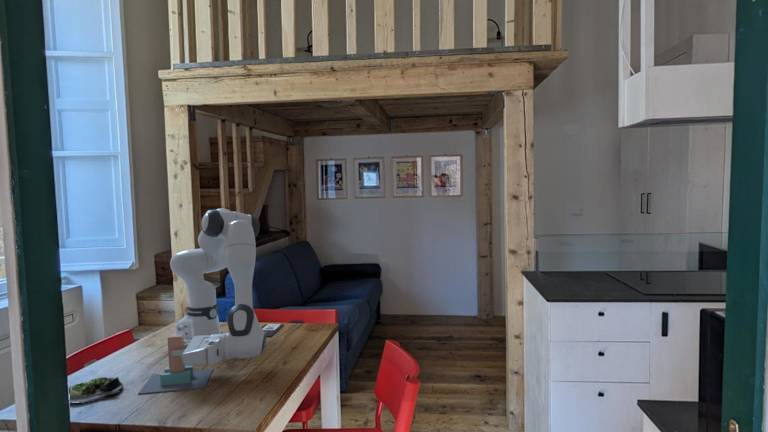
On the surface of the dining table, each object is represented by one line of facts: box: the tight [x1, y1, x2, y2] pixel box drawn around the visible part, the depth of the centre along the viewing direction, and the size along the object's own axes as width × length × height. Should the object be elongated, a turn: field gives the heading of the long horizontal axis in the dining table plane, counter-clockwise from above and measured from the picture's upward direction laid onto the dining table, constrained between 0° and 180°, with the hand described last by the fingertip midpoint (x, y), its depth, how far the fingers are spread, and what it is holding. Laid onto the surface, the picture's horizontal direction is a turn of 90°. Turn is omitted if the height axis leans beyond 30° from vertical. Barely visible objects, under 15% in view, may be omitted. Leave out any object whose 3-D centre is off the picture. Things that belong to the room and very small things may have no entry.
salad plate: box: [68, 376, 124, 405], centre depth 153 cm, size 19×18×5 cm
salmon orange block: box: [167, 334, 186, 373], centre depth 161 cm, size 4×2×12 cm, turn 101°
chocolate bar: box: [261, 323, 285, 338], centre depth 218 cm, size 9×1×18 cm
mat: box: [137, 368, 214, 395], centre depth 162 cm, size 20×16×1 cm
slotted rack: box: [160, 365, 195, 386], centre depth 162 cm, size 9×6×4 cm
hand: (173, 350), depth 161 cm, fingers closed on salmon orange block, 2 cm apart
